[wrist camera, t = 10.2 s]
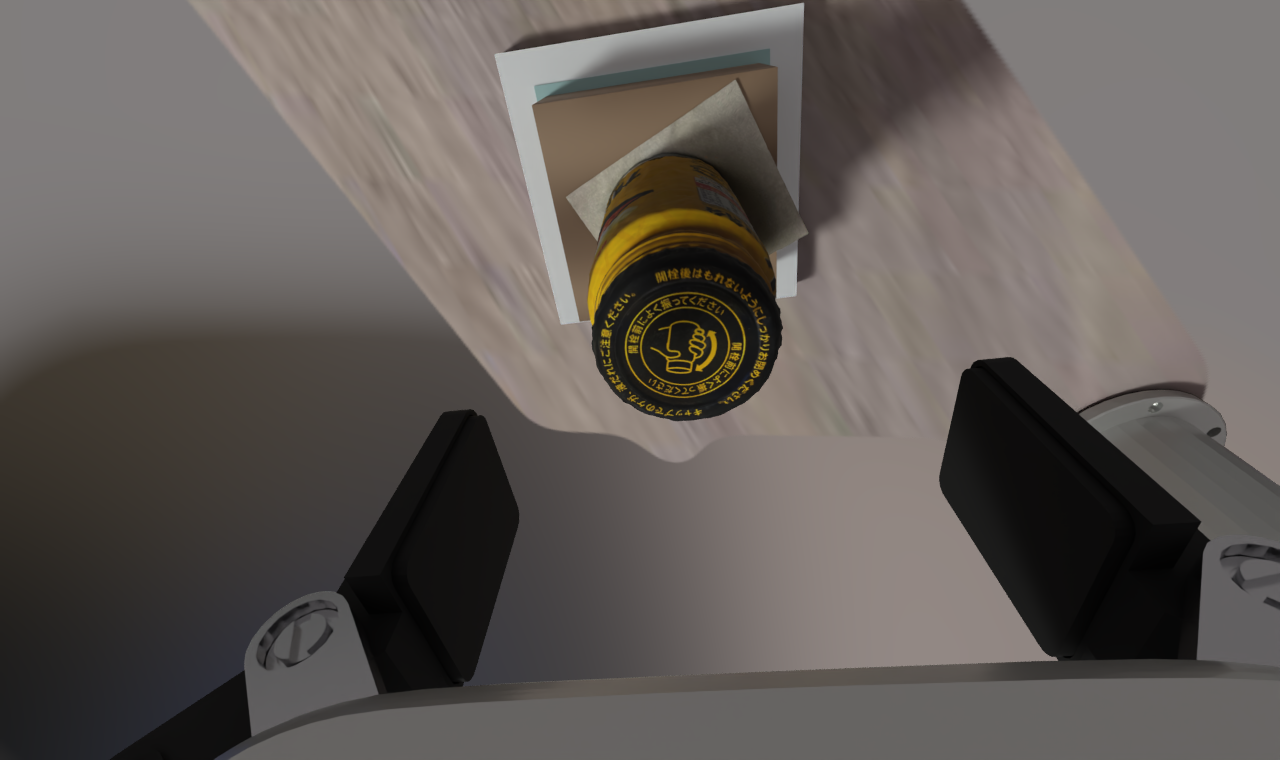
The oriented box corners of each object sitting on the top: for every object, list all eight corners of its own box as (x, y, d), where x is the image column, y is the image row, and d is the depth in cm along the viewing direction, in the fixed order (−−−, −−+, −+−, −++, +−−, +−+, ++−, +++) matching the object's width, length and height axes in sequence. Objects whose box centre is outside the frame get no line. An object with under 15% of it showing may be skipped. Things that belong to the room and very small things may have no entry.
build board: (790, 285, 32) (796, 296, 30) (564, 313, 33) (560, 325, 32) (795, 4, 24) (804, 2, 23) (501, 53, 25) (493, 54, 24)
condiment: (566, 196, 24) (507, 314, 14) (735, 79, 21) (818, 116, 11) (651, 319, 27) (656, 487, 17) (806, 231, 24) (920, 367, 14)
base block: (761, 268, 30) (776, 298, 26) (586, 290, 30) (579, 321, 27) (759, 62, 24) (777, 67, 21) (546, 96, 25) (531, 105, 22)
